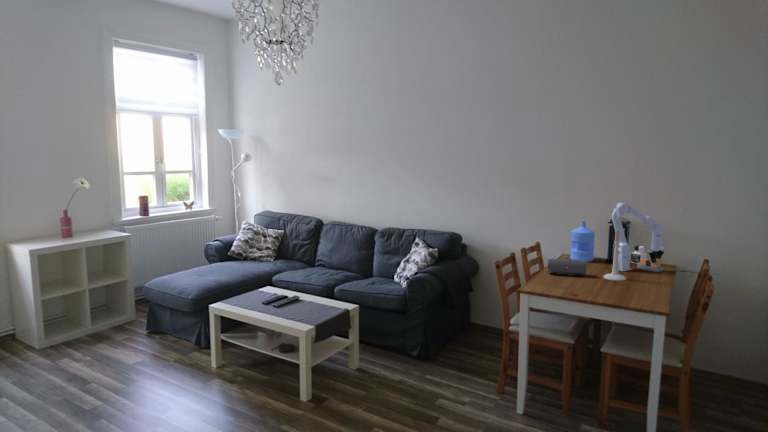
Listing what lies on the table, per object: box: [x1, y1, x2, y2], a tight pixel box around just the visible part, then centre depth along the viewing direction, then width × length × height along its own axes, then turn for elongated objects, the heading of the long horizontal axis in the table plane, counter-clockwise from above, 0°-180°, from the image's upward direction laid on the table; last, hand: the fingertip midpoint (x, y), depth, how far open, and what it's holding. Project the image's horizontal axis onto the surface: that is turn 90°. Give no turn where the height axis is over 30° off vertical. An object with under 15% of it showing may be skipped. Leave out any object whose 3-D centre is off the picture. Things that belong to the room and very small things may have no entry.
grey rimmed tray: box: [636, 258, 665, 273], centre depth 324 cm, size 14×7×6 cm, turn 29°
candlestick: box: [603, 230, 627, 282], centre depth 301 cm, size 13×13×30 cm
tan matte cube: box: [650, 259, 662, 268], centre depth 321 cm, size 5×4×5 cm
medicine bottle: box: [630, 245, 648, 265], centre depth 343 cm, size 7×7×12 cm
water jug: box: [569, 220, 596, 263], centre depth 353 cm, size 16×16×28 cm
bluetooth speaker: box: [547, 258, 587, 276], centre depth 312 cm, size 23×9×10 cm, turn 71°
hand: (655, 262), depth 320 cm, fingers closed on tan matte cube, 4 cm apart
